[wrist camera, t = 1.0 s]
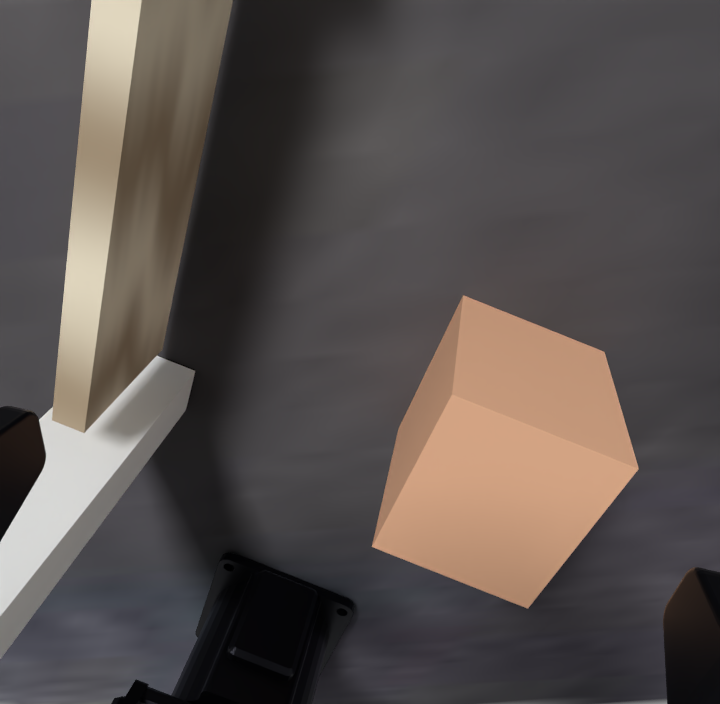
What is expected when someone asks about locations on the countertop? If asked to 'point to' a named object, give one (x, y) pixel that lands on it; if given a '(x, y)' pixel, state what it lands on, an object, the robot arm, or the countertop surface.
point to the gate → (132, 190)
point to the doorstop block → (504, 455)
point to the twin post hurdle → (83, 487)
